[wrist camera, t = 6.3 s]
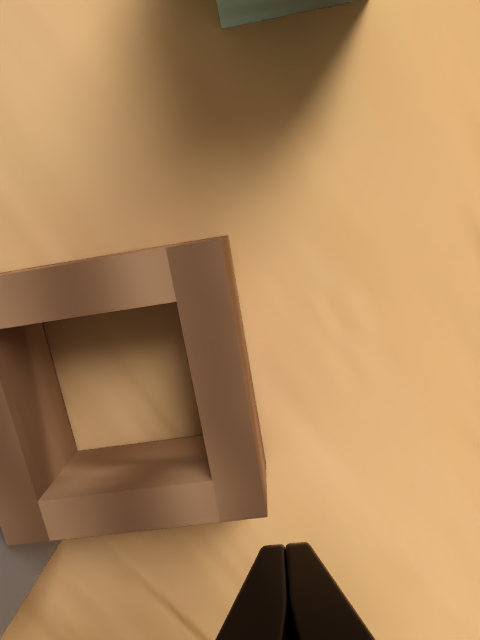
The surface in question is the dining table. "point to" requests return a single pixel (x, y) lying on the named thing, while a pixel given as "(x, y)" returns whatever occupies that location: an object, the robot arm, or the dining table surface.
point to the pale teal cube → (266, 9)
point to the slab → (20, 574)
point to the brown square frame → (134, 459)
